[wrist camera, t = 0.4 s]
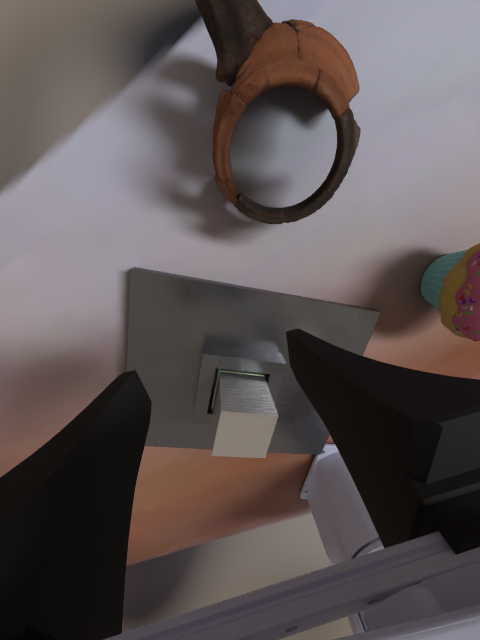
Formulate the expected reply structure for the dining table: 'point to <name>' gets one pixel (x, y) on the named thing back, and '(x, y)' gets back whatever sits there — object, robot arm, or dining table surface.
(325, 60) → the broken terracotta ring
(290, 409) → the stand base
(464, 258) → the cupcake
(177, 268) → the dining table surface
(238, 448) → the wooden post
